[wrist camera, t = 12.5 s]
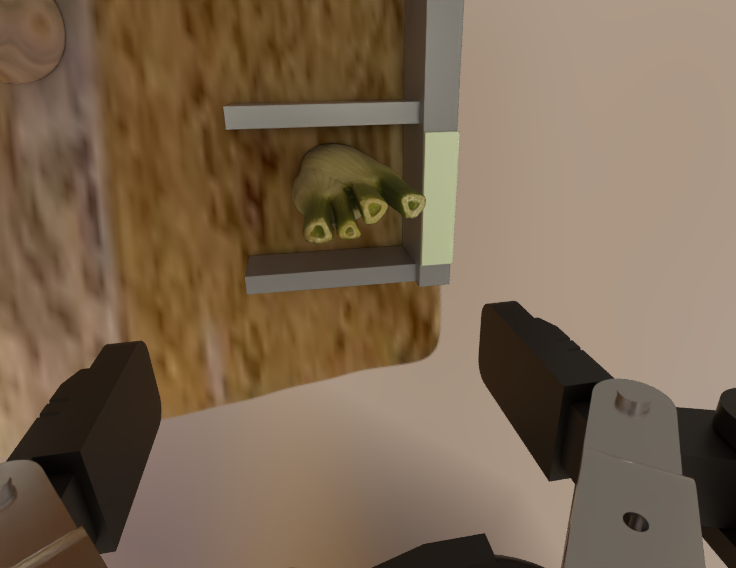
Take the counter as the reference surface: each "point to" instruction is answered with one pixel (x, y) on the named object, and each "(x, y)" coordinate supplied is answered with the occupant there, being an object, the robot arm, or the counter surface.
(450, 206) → the comb rack
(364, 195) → the fennel bulb
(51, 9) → the beer glass
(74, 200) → the counter surface
